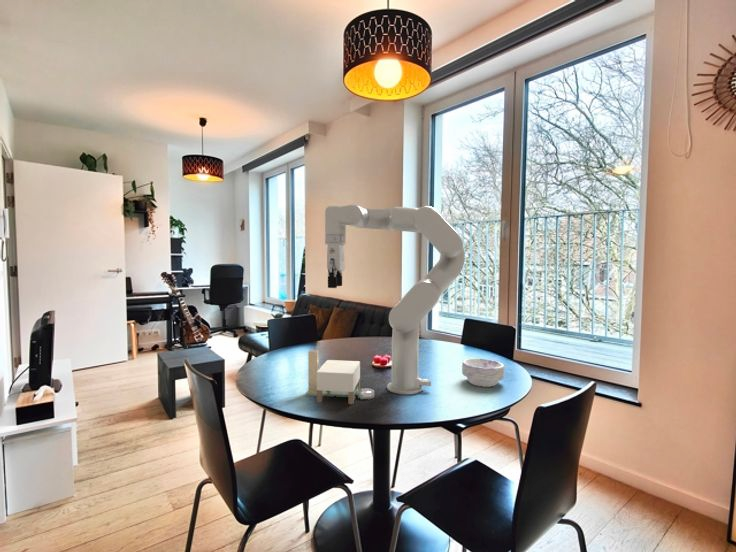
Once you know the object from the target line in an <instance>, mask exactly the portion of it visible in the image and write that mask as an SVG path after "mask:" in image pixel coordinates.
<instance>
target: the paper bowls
mask: <svg viewBox="0 0 736 552" xmlns="http://www.w3.org/2000/svg"><path fill="white" fill-rule="evenodd" d="M461 363H462V365H461V374H462V375H463V376H464V377H466V379H467V380H468V383H469V384H470V385H471V384H472V385H474V386H477V387H481V386H482V387H481V388H483V387H484V388H490V387H491V386H492V387H495V386H496V385H497V384H498V383H499V381H502V380H504V378H505V377H504V376H505V364H504V363H502V362H500V361H498V360H492V359H489V358H476V357H475V358H473V357H472V358H466V359H464V360H462V362H461Z"/></svg>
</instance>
